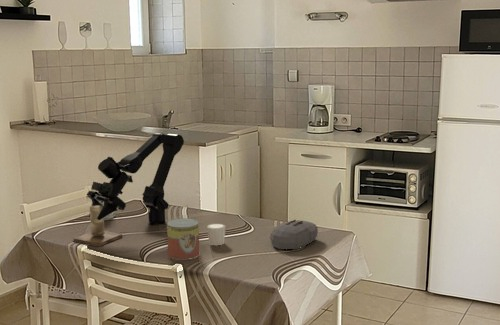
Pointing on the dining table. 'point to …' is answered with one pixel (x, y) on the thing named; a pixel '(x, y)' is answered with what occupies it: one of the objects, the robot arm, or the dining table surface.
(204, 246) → the dining table surface
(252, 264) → the dining table surface
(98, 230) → the birch peg
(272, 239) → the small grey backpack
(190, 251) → the canned food
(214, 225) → the white short cylinder
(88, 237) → the walnut board
